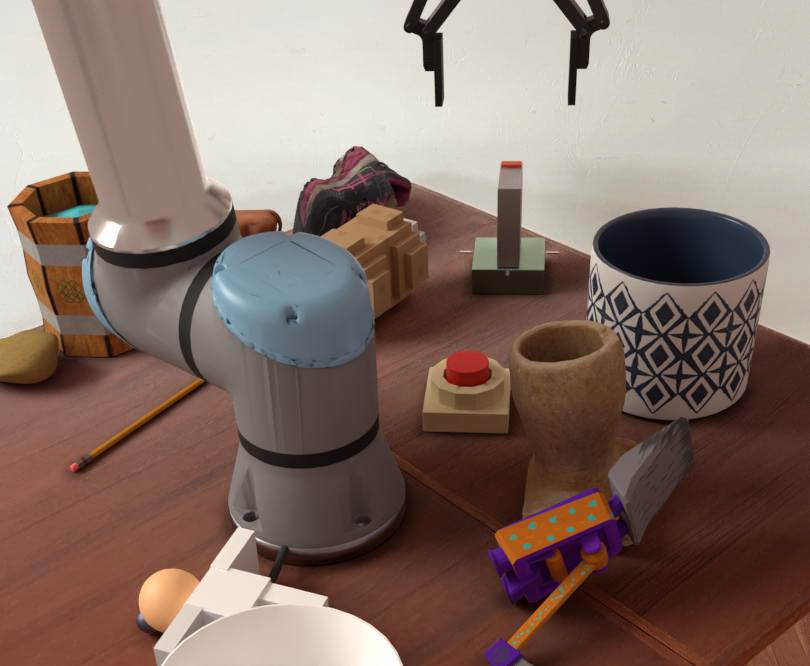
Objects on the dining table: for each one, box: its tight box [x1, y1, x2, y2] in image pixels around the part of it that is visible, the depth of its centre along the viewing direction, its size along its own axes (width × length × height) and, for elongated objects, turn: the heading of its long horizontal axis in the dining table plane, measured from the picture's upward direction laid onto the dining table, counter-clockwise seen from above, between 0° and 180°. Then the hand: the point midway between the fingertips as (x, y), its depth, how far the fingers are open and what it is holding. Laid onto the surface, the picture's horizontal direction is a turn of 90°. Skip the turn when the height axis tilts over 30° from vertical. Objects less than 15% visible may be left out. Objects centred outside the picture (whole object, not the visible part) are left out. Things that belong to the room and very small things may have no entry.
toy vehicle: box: [483, 417, 696, 666], centre depth 83 cm, size 9×21×15 cm
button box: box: [421, 356, 511, 434], centre depth 108 cm, size 8×8×4 cm
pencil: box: [69, 378, 205, 473], centre depth 109 cm, size 19×1×1 cm, turn 146°
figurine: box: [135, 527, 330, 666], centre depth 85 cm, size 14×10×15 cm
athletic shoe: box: [292, 145, 412, 237], centre depth 135 cm, size 11×22×12 cm
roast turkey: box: [321, 204, 430, 320], centre depth 121 cm, size 10×18×10 cm, turn 145°
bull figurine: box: [234, 208, 283, 238], centre depth 130 cm, size 4×13×8 cm, turn 85°
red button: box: [446, 350, 489, 387], centre depth 106 cm, size 4×4×2 cm
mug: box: [6, 171, 134, 358], centre depth 120 cm, size 20×14×15 cm
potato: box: [0, 329, 59, 385], centre depth 116 cm, size 7×8×8 cm
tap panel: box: [458, 236, 560, 295], centre depth 128 cm, size 11×11×3 cm
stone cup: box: [507, 319, 639, 548], centre depth 93 cm, size 15×12×15 cm
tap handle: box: [496, 160, 524, 267], centre depth 124 cm, size 7×2×9 cm, turn 174°
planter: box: [585, 206, 771, 421], centre depth 107 cm, size 16×16×14 cm
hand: (505, 101), depth 117 cm, fingers open, 13 cm apart
